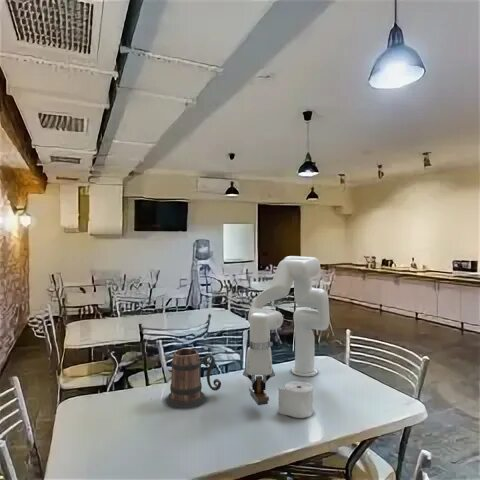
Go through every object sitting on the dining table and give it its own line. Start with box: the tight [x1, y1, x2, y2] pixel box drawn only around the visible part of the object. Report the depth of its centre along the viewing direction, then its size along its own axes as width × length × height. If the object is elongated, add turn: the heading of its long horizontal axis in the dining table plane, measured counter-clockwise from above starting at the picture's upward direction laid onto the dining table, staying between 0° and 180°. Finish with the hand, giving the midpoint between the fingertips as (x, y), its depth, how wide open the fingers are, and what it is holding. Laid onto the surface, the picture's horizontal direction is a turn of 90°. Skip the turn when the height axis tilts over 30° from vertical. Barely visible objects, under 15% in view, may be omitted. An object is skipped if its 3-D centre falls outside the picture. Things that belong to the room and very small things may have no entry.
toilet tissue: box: [277, 380, 314, 419], centre depth 158 cm, size 11×12×10 cm
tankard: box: [165, 347, 222, 410], centre depth 170 cm, size 24×17×20 cm
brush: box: [248, 375, 270, 406], centre depth 160 cm, size 11×4×9 cm, turn 16°
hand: (258, 391), depth 160 cm, fingers closed on brush, 2 cm apart
